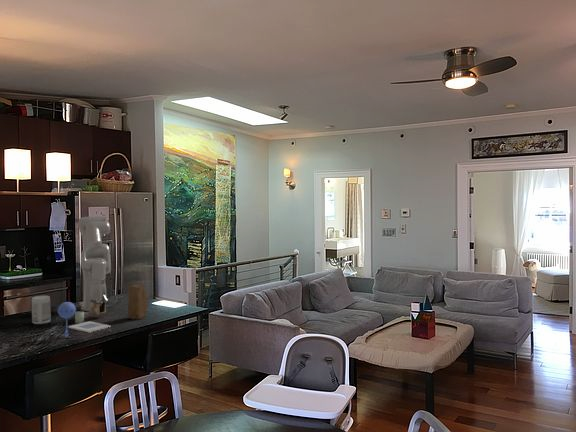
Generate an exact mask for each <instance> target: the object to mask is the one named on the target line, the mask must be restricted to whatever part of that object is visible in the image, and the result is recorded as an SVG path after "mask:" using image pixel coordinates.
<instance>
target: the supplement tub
mask: <svg viewBox="0 0 576 432" xmlns="http://www.w3.org/2000/svg"><path fill="white" fill-rule="evenodd" d="M51 308H52V307H51V297H50V295H36V296H33V297H31V323H32V324H35V325H43V324H48V323H50V322H51V319H52V318H51V317H52V315H51V314H52V313H51Z"/></svg>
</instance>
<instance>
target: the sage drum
mask: <svg viewBox="0 0 576 432" xmlns="http://www.w3.org/2000/svg"><path fill="white" fill-rule="evenodd" d="M84 322H85V311H84V310H79V311H78V310H77V311H76V312H75V314H74V324H80V323H84Z"/></svg>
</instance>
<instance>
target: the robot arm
mask: <svg viewBox="0 0 576 432" xmlns="http://www.w3.org/2000/svg"><path fill="white" fill-rule="evenodd" d="M77 222H78V223H77V224H78V230H79V232H80V236H81V238H82V247H83V248H82V251H81V254H80V264H81V270H82V279H83V301H82V302H81V303H80V305H82V306H81V307H80V311H84V312H85V311H86V312H89V311H90V312H91V303H93V302H97V301H98V302H100V313H101V312H104V311H105V305H106V306H107V303H108V301H109V299H108V298H107V297H108V294H107V285H106V277H107V276H106V275H107V274H110V273H111V271H112V262H111V261H112V260H111V252H110V247H109V245H108V244H107V243H102V242H103V241H102V235H109V234H110V233H111V223H110V222H109V220H108V218H107V217H106V216H83V217H81V218H79V219H78V221H77ZM102 302H103V303H102ZM101 314H102V313H101Z"/></svg>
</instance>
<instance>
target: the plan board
mask: <svg viewBox="0 0 576 432" xmlns="http://www.w3.org/2000/svg"><path fill="white" fill-rule="evenodd" d="M111 326H112V325H109V324H105V323H99V322H95V321H84V323H80V324H77V323H75V324H72V325H69V326H68V325H67V329H71V330H76V331H80V332H84V333H85V332H86V333H89V334H90V333H93V331H94V332H97V330H98V331H101V329H102V330H105V329H108V327H109V328H111Z"/></svg>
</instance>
